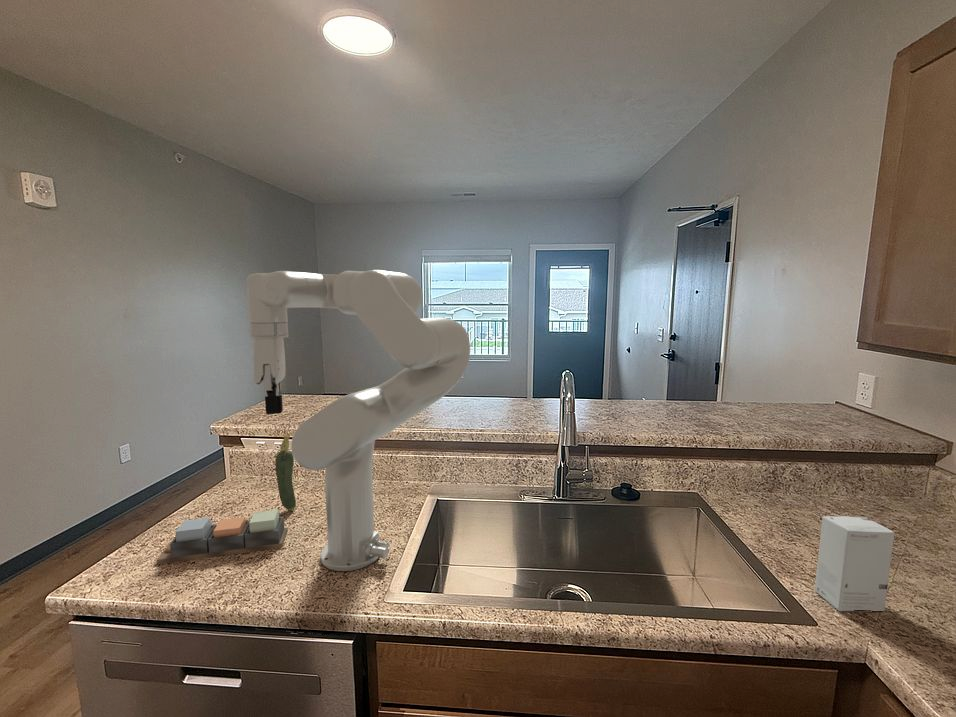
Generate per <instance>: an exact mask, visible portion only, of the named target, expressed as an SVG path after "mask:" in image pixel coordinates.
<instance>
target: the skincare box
mask: <svg viewBox="0 0 956 717" xmlns="http://www.w3.org/2000/svg"><path fill="white" fill-rule="evenodd" d="M821 520H822V521H821V529H820V538H819V539H820V540H819V547H818V556H817V565H816V566H817V567H816V575H815V582H814V583H815V584H814V591H815V592H816V593H817V594H818V595H819V596H821V597H822V598H823V599H824V600H825V601H826V602H827V603H828V604H831V606H832V607H833V608H834V609H835V608H836V609H835V610H836V611H837V610H838V611H837V612H843V611H844V612H855V611H854V610H876V611H884V610H885V609H886V603H887V602H886V601H887V594H888V587H889V579H890V578H889V577H890V568H891V564H892V563H891V562H892V554H893V546H894V540H895V532H894V530H891V529H889V528H887V527H885V526H883V525H881V524H880V523H877V522H876V521H874V520H872V519H871V518H868V517H858V516H847V515H845V516H844V515H840V516H836V515H835V516H832V515H831V516H830V515H829V516H828V515H826V516H825V515H822V519H821ZM884 612H885V611H884Z"/></svg>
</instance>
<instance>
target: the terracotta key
mask: <svg viewBox="0 0 956 717" xmlns="http://www.w3.org/2000/svg"><path fill="white" fill-rule="evenodd" d="M246 521H247V520H246V516H243V517H242V516H240V517H234V518H225V519H220V520H219V521H218V523H217V526H216V528H215V529H214V531H213V533H214V538H215V537H223V536H231V535H239V534H242V532H243V530H244V528H245V526H246Z"/></svg>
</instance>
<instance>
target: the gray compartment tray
mask: <svg viewBox="0 0 956 717" xmlns="http://www.w3.org/2000/svg"><path fill="white" fill-rule="evenodd" d="M250 520H251V519H249V520H246V526H245V528H244V530H243V532H242V534H239V535H231V536H223V537H215V538H214V533H213V531H214V529H215V528H216V526H217V525H218V523H217V524H215V523H214V524H211V530H210V531H209V533H208V534H207V536H206V537H205V539H199V540H191V541H183V542H176V536H175V537H174V538H173V540H172V541H171V542H169V544H168V545H167V546H166V548H165V549H163V551H162V552H161V553H160V554H159V556H158V557H157V559H156V560H155V561H156V565H163V564H169V563H178V562H184V561H185V562H186V561H193V560H199V559H200V560H201V559H207V558H214V557H223V556H229V555H230V556H231V555H237V554H244V553H252V552H258V551H267V550H274V548H275V549H281V547H284V545H283V544H285V542H286V539H287V538H286V537H287V536H288V533H287V532H289V531H288V527H285V516H284V515H283V516H279V524H278V527H277V529H276V530H271V531H263V532H255V533H250V526H249V522H250ZM286 535H287V536H286ZM285 538H286V539H285ZM284 541H285V542H284Z"/></svg>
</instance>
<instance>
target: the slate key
mask: <svg viewBox="0 0 956 717" xmlns="http://www.w3.org/2000/svg"><path fill="white" fill-rule="evenodd" d="M211 525H212V522H211V517H209V516H208V517H202V518H193V519H191V518H190V519H185V520H183V521H182V523H181V524H180V525H179V527H178V528H177V529H176V530H175V533H174V534H175V537H176V542H183V541H191V540H199V539H205V537H206V536H207V534H208V533H209V531H210V530H211Z"/></svg>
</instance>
